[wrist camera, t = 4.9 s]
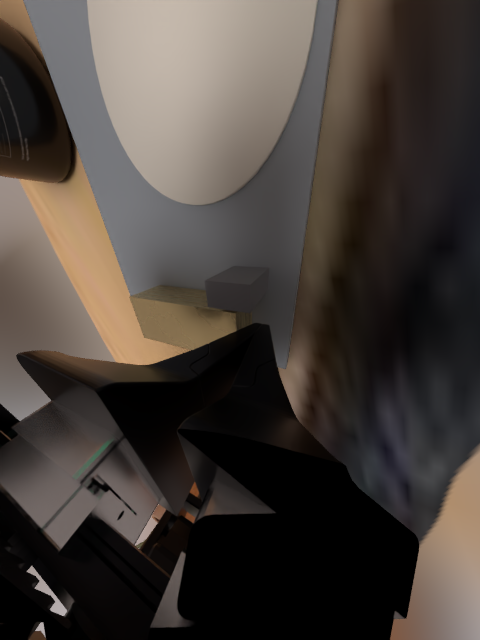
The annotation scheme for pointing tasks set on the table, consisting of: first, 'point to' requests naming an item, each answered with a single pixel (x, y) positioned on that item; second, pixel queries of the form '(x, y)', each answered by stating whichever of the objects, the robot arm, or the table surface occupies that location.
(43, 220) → the table surface
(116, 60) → the dock board
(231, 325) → the bar
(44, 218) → the table surface
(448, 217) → the table surface
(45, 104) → the supplement bottle
